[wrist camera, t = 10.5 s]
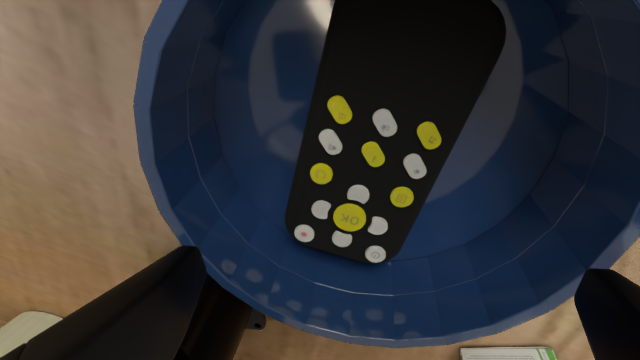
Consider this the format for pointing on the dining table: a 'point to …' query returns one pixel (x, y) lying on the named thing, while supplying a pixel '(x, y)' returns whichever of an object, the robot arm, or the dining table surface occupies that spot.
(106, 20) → the dining table surface
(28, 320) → the reusable coffee cup
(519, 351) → the syrup box
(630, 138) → the pot
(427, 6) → the remote control
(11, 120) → the dining table surface
